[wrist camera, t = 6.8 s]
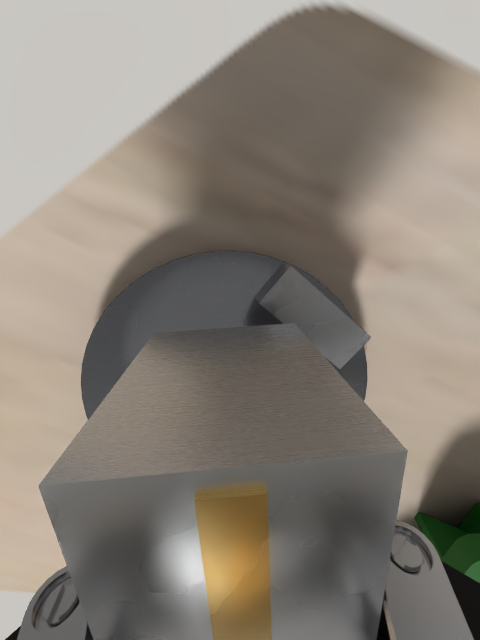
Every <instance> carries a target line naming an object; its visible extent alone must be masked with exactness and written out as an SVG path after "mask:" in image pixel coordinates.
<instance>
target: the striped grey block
mask: <svg viewBox="0 0 480 640" xmlns="http://www.w3.org/2000/svg"><path fill="white" fill-rule="evenodd" d="M406 458H407V450H406V448H405V447H404V446H403V445H402V444H401V443H400V442H399V441H398V439H397V438H396V437H395V436H394V435H393V434H392V433H391V432H390V430H389V429H388V428H387V427H386V426H385V425H384V424H383V423H382V421H381V420H380V419H379V418H378V417H377V416H376V415H375V413H374V412H373V411H372V410H371V409H370V408H369V407H368V406H367V404H366V403H365V402H364V401H363V400H362V399H361V398H360V397H359V395H358V394H357V393H356V392H355V391H354V390H353V389H352V388H351V386H350V385H349V384H348V383H347V382H346V381H345V380H344V379H343V377H342V376H341V375H340V374H339V373H338V372H337V371H336V370H335V368H334V367H333V366H332V365H331V364H330V363H329V362H328V360H327V359H326V358H325V357H324V356H323V355H322V354H321V353H320V351H319V350H318V349H317V348H316V347H315V346H314V345H313V344H312V342H311V341H310V340H309V339H308V338H307V337H306V336H305V335H304V333H303V332H302V331H301V330H300V329H299V328H298V327H297V326H296V324H295V323H289V324H275V325H261V326H247V327H232V328H218V329H204V330H190V331H176V332H161V333H154V334H153V335H152V336H151V338H150V339H149V340H148V342H147V343H146V344H145V345H144V347H143V348H142V349H141V351H140V352H139V353H138V355H137V356H136V357H135V359H134V360H133V361H132V363H131V364H130V365H129V367H128V368H127V369H126V371H125V372H124V373H123V375H122V376H121V377H120V379H119V380H118V381H117V383H116V384H115V385H114V387H113V388H112V389H111V391H110V392H109V393H108V394H107V396H106V397H105V398H104V400H103V401H102V402H101V404H100V405H99V406H98V408H97V409H96V410H95V412H94V413H93V414H92V416H91V417H90V418H89V420H88V421H87V422H86V424H85V425H84V426H83V428H82V429H81V430H80V432H79V433H78V434H77V436H76V437H75V438H74V439H73V441H72V442H71V443H70V445H69V446H68V447H67V449H66V450H65V451H64V453H63V454H62V455H61V457H60V458H59V459H58V461H57V462H56V463H55V465H54V466H53V467H52V469H51V470H50V471H49V473H48V474H47V475H46V477H45V478H44V479H43V481H42V482H41V483H40V484H39V489H40V492H41V495H42V497H43V500H44V503H45V506H46V509H47V511H48V514H49V517H50V520H51V523H52V525H53V528H54V531H55V534H56V536H57V539H58V542H59V545H60V548H61V550H62V553H63V556H64V559H65V562H66V564H67V567H68V570H69V573H70V575H71V578H72V581H73V584H74V587H75V589H76V592H77V595H78V598H79V601H80V603H81V606H82V609H83V612H84V614H85V617H86V620H87V623H88V626H89V628H90V631H91V634H92V637H93V640H376V639H377V633H378V627H379V621H380V615H381V609H382V603H383V597H384V591H385V585H386V579H387V573H388V567H389V561H390V555H391V548H392V542H393V536H394V530H395V524H396V518H397V512H398V506H399V500H400V494H401V488H402V482H403V476H404V470H405V464H406Z"/></svg>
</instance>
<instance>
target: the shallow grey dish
mask: <svg viewBox="0 0 480 640" xmlns="http://www.w3.org/2000/svg"><path fill="white" fill-rule="evenodd" d="M289 323H295V324H296V326H297V327H298V328H299V329H300V330H301V331H302V332H303V333H304V335H305V336H306V337H307V338H308V339H309V340H310V341H311V342H312V344H313V345H314V346H315V347H316V348H317V349H318V350H319V351H320V353H321V354H322V355H323V356H324V357H325V358H326V359H327V360H328V362H329V363H330V364H331V365H332V366H333V367H334V368H335V370H336V371H337V372H338V373H339V374H340V375H341V376H342V377H343V379H344V380H345V381H346V382H347V383H348V384H349V385H350V386H351V388H352V389H353V390H354V391H355V392H356V393H357V394H358V395H359V397H360V398H361V399H362V400H363V401H364V399H365V395H366V387H367V362H366V356H365V350H364V346H363V345H364V344H365V343H366V342H367V341H368V340H369V339H370V338H371V337H370V336H369V335H368V334H367V333H366V332H365V331H364V330H363V329H361V328H360V327H359V326H358V325H357V324H356V323H355V322H354V321H353V319H352V317H351V316H350V314H349V313H348V311H347V310H346V309H345V307H344V306H343V304H342V303H341V302H340V301H339V300H338V298H337V297H336V296H335V295H334V294H333V293H332V292H331V291H330V290H329V289H328V288H327V287H325V286H324V285H323V284H322V283H320V282H319V281H318V280H316V279H315V278H314V277H313V276H311V275H309V274H307V273H306V272H304V271H302V270H300V269H299V268H297V267H295V266H293V265H290V264H288V263H285V262H282V261H280V260H277V259H275V258H272V257H268V256H264V255H260V254H256V253H252V252H242V251H211V252H205V253H199V254H193V255H190V256H187V257H183V258H180V259H177V260H174V261H171V262H169V263H167V264H165V265H163V266H160V267H158V268H156V269H154V270H152V271H150V272H148V273H147V274H145V275H144V276H142V277H141V278H139V279H138V280H136V281H135V282H133V283H132V284H130V285H129V286H128V287H127V288H126V289H125V290H124V291H123V292H121V293H120V294H119V295H118V296H117V297H116V298H115V299H114V300H113V302H112V303H111V304H110V305H109V306H108V308H107V309H106V310H105V311H104V312H103V314H102V316H101V317H100V319H99V321H98V322H97V324H96V326H95V327H94V329H93V331H92V334H91V336H90V339H89V341H88V344H87V346H86V350H85V354H84V358H83V363H82V374H81V389H82V399H83V404H84V408H85V412H86V416H87V418H88V420H89V418H90V417H91V416H92V414H93V413H94V412H95V410H96V409H97V408H98V406H99V405H100V404H101V402H102V401H103V400H104V398H105V397H106V396H107V394H108V393H109V392H110V391H111V389H112V388H113V387H114V385H115V384H116V383H117V381H118V380H119V379H120V377H121V376H122V375H123V373H124V372H125V371H126V369H127V368H128V367H129V365H130V364H131V363H132V361H133V360H134V359H135V357H136V356H137V355H138V353H139V352H140V351H141V349H142V348H143V347H144V345H145V344H146V343H147V342H148V340H149V339H150V338H151V336H152V335H153V334H154V333H161V332H176V331H190V330H204V329H218V328H232V327H247V326H261V325H275V324H289Z"/></svg>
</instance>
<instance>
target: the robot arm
mask: <svg viewBox="0 0 480 640" xmlns="http://www.w3.org/2000/svg"><path fill="white" fill-rule="evenodd" d="M5 640H93V637H92V634H91V631H90V628H89V626H88V623H87V620H86V617H85V614H84V612H83V609H82V606H81V603H80V601H79V598H78V595H77V592H76V589H75V587H74V584H73V581H72V578H71V575H70V573H69V570H68V567H67V566H66V567H64V568H62V569H61V570H59V571H57V572H56V573H55V574H53V575H52V576H51V577H50V578H49V579H47V580H46V581H45V583H44V584H43V585H42V586H41V587H40V588H39V589H38V591H37V592H36V594H35V595H34V597H33V598H32V600H31V601H30V603H29V606H28V608H27V610H26V612H25V615H24V618H23V622H22V625H21V626H20V627H19V628H18V629H17V630H16V631H14V632H13V633H12V634H11V635H10V636H9V637H8V638H6V639H5ZM376 640H480V583H479V582H477V581H475V580H473V579H472V578H470V577H468V576H467V575H465V574H463V573H461V572H460V571H458V570H456V569H455V568H453V567H451V566H449V565H448V564H446V563H444V562H442V561H441V560H440V557H439V555H438V553H437V551H436V549H435V548H434V546H433V544H432V543H431V542H430V541H429V539H428V538H427V537H426V536H425V535H424V534H423V533H421V532H420V531H419V530H418V529H416V528H415V527H413V526H411V525H409V524H407V523H405V522H402V521H398V520H396V524H395V530H394V536H393V542H392V548H391V555H390V561H389V567H388V573H387V579H386V585H385V591H384V597H383V603H382V609H381V615H380V621H379V627H378V633H377V639H376Z"/></svg>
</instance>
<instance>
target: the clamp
mask: <svg viewBox="0 0 480 640" xmlns="http://www.w3.org/2000/svg"><path fill="white" fill-rule="evenodd" d="M415 519H416V521H417V523H418V525H419V527H420V529H421V531H422V533H423V534H424V535H425V536H426V537H427V538H428V539H429V541H430V542H431V543H432V544H433V546H434V548H435V549H436V551H437V553H438V555H439V557H440V560H441V561H442V562H444V563H446V564H448V565H449V566H451V567H453V568H455V569H456V570H458V571H460V572H461V573H463V574H465V575H467V576H468V577H470V578H472V579H473V580H475V581H477V582H479V583H480V503H477V504H475V506H474V507H473V508H472V510H471V511H470V512H469V514H468V515H467V516H466V518H465V519H464V520H463V522H462V523H461V524H460V526H459V527H458V528H456V527H454V526H451V525H449V524H447V523H444V522H442V521H440V520H437V519H435V518H432V517H430V516H428V515H425V514H422V513H418V514H417V516H416V517H415Z"/></svg>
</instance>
